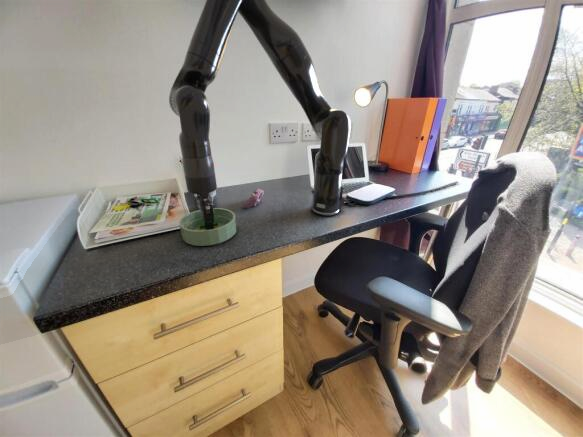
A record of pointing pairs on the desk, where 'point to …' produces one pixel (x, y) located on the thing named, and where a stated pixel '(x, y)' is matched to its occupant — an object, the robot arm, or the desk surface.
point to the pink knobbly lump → (254, 198)
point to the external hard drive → (370, 194)
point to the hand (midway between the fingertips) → (209, 230)
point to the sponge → (202, 225)
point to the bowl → (211, 236)
